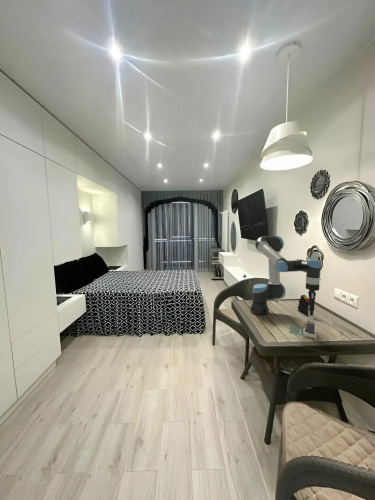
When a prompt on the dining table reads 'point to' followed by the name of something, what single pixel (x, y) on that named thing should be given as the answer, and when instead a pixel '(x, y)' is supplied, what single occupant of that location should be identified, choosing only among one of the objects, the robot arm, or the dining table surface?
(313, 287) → the robot arm
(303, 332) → the board
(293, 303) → the dining table surface
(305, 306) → the black ridged module
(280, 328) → the dining table surface
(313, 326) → the plug
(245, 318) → the dining table surface
